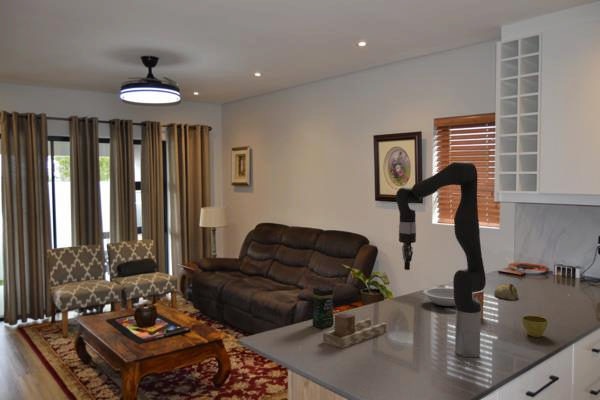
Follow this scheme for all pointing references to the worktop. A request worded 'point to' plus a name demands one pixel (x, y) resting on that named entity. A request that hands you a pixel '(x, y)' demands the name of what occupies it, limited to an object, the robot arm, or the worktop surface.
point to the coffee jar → (323, 306)
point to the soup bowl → (441, 296)
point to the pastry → (506, 292)
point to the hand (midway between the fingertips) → (407, 269)
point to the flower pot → (534, 325)
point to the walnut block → (344, 324)
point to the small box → (479, 299)
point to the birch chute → (355, 334)
